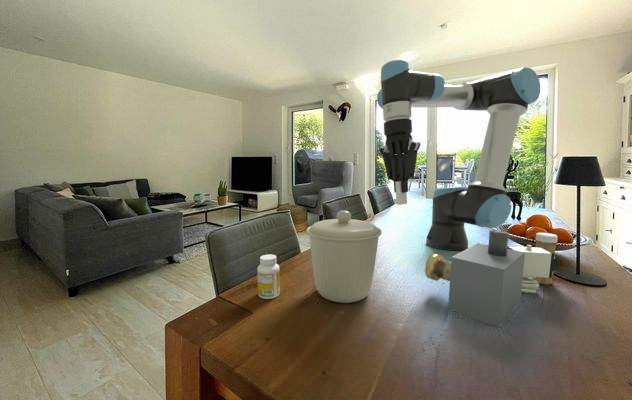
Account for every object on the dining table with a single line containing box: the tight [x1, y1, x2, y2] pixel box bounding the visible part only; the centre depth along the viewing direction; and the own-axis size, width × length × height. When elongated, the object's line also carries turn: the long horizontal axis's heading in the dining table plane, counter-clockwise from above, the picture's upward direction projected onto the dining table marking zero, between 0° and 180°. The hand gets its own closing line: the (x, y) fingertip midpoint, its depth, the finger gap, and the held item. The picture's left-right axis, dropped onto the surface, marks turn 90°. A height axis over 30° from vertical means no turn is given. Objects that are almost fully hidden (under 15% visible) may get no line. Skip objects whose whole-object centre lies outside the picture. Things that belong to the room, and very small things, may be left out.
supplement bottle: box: [257, 254, 281, 300], centre depth 70 cm, size 5×5×10 cm
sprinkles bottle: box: [532, 232, 558, 285], centre depth 78 cm, size 5×5×14 cm
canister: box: [306, 210, 383, 304], centre depth 70 cm, size 18×18×21 cm
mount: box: [447, 243, 525, 328], centre depth 65 cm, size 10×16×12 cm, turn 132°
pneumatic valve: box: [507, 244, 560, 294], centre depth 73 cm, size 6×12×12 cm, turn 78°
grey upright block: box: [487, 229, 509, 256], centre depth 65 cm, size 4×4×5 cm
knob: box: [424, 252, 451, 282], centre depth 69 cm, size 9×6×6 cm
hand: (401, 203), depth 82 cm, fingers closed
